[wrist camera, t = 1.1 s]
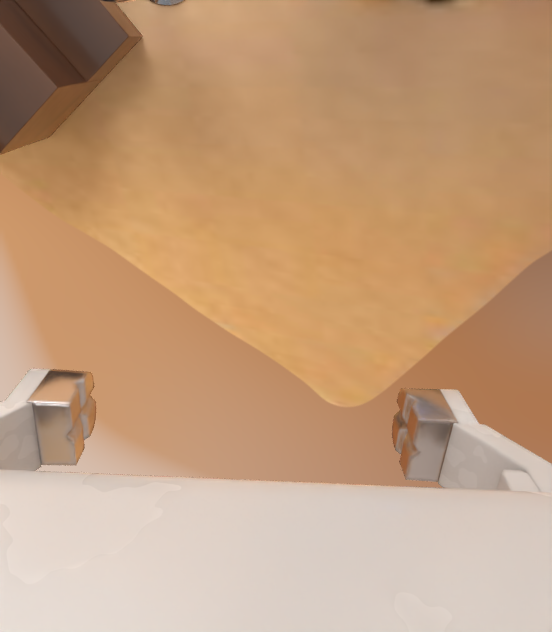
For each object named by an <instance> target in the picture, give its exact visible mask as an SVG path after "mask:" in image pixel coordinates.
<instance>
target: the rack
mask: <svg viewBox="0 0 552 632" xmlns="http://www.w3.org/2000/svg"><path fill="white" fill-rule="evenodd" d="M141 38H142V35H141V34H140V32H139V31H138V30H137V29H136V28H135V26H134V25H133V24H132V23H131V21H130V20H129V19H128V18H127V17H126V15H125V14H124V13H123V12H122V11H121V9H120V8H119V7H118V6H117V4H116V3H113V2H107V1H101V0H0V154H3V153H6V152H9V151H12V150H14V149H17V148H20V147H23V146H26V145H29V144H31V143H34V142H37V141H40V140H43V139H45V138H48V137H50V136H51V135H52V134H53V132H54V131H55V130H56V129H57V128H58V127H59V126H60V125H61V124H62V123H63V122H64V121H65V120H66V118H67V117H68V116H69V115H70V114H71V113H72V112H73V111H74V110H75V109H76V108H77V107H78V106H79V104H80V103H81V102H82V101H83V100H84V99H85V98H86V97H87V96H88V95H89V94H90V93H91V92H92V90H93V89H94V88H95V87H96V86H97V85H98V84H99V83H100V82H101V81H102V79H104V78H105V77H106V75H107V74H108V73H109V72H110V71H111V70H112V69H113V68H114V67H115V66H116V65H117V64H118V63H119V61H120V60H121V59H122V58H123V57H124V56H125V55H126V54H127V53H128V52H129V51H130V50H131V49H132V47H133V46H134V45H135V44H136V43H137V42H138V41H139V40H140V39H141Z"/></svg>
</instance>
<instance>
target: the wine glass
mask: <svg viewBox="0 0 552 632" xmlns="http://www.w3.org/2000/svg"><path fill="white" fill-rule="evenodd" d="M101 1H107V2H113V3H119V2H131V1H134V0H101ZM150 1H152V2H154V3H157V4H160V5H174V4H178V3H180V2H182V1H184V0H150Z"/></svg>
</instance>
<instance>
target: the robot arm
mask: <svg viewBox="0 0 552 632" xmlns="http://www.w3.org/2000/svg"><path fill="white" fill-rule="evenodd" d="M93 388H94V381H93V375H92V373H91V372H84V371H69V370H54V369H53V370H52V369H38V368H33V369H30V370H29V371H28V372H27V373H26V374H25V376H24V377H23V378H22V379H21V381H20V382H19V383H18V384H17V386H16V387H15V388H14V390H13V391H12V392H11V393H10V394H9V396H8V397H7V398H6V399H5V401H4V402H1V401H0V632H552V464H551V463H549V462H547V461H546V460H544V459H542V458H541V457H539V456H537V455H536V454H534V453H532V452H530V451H529V450H527V449H525V448H524V447H522V446H520V445H518V444H517V443H515V442H513V441H512V440H510V439H508V438H507V437H505V436H503V435H502V434H500V433H498V432H496V431H495V430H493V429H491V428H490V427H488V426H486V425H480V424H479V423H478V421H477V420H476V418H475V417H474V415H473V413H472V412H471V410H470V408H469V407H468V405H467V403H466V402H465V400H464V399H463V397H462V395H461V394H460V392H459V391H457V390H455V389H454V390H453V389H406V388H404V389H403V388H401V389H400V392H399V394H398V399H397V403H398V406H399V408H400V411H399V412H397V413H396V414H395V415H394V419H393V426H392V438H393V444H394V447H395V450H396V451H397V452H398V453H400V454H401V456H400V461H399V462H400V465H401V467H402V471H403V474H404V476H405V479H406V480H419V481H433V482H438V484H439V485H441V486H442V487H443V488H431V487H407V486H384V485H360V484H336V483H312V482H288V481H264V480H240V479H217V478H194V477H170V476H146V475H123V474H122V475H121V474H99V473H75V472H74V473H73V472H51V471H36V470H37V469H38V468H40V467H41V465H76V464H77V462H78V460H79V458H80V456H81V454H82V452H83V450H84V440H85V439H86V438H88V437H90V435H91V433H92V431H93V428H94V424H95V419H96V402H95V400H94V399H93V398H92V397H91V396H90V394H91V392H92V390H93Z"/></svg>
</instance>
